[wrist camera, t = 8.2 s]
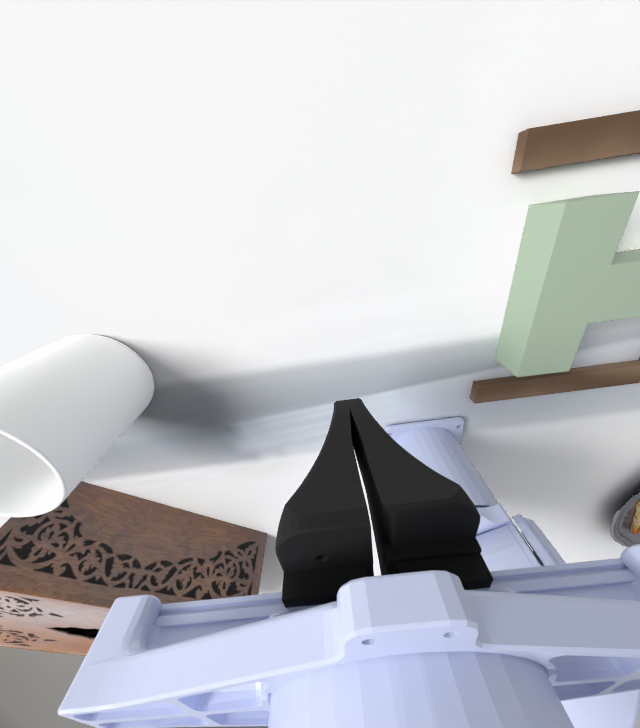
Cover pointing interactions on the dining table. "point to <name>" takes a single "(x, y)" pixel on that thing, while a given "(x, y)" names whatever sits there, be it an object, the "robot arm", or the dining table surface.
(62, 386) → the cup
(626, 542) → the food plate
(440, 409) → the dining table surface
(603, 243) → the t block
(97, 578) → the tissue box cover
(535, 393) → the bracket
